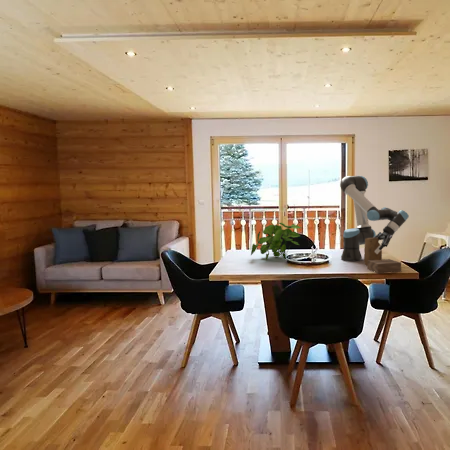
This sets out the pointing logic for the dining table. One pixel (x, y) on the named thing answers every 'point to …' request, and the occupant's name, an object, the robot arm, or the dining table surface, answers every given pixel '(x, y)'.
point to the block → (371, 250)
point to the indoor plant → (275, 239)
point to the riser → (384, 265)
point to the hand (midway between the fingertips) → (370, 251)
